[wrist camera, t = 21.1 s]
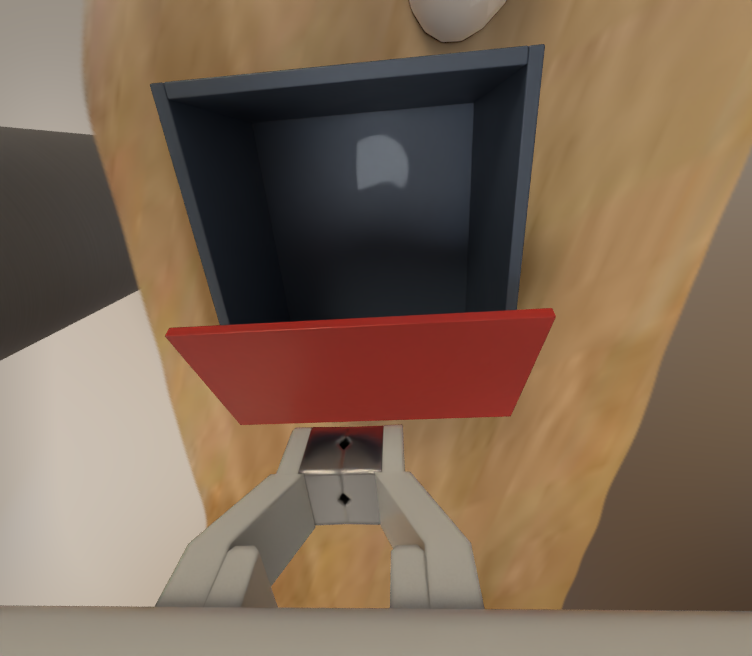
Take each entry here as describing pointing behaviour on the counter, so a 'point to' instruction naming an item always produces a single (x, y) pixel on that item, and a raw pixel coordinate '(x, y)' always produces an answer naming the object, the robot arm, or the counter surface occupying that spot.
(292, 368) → the lid
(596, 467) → the counter surface
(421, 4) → the beige and grey spoon
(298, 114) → the carton
